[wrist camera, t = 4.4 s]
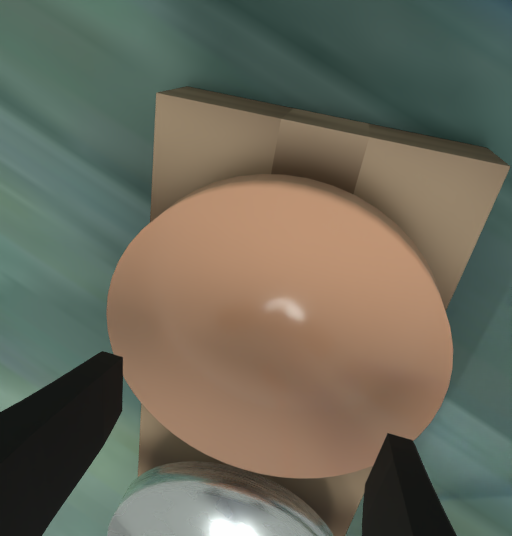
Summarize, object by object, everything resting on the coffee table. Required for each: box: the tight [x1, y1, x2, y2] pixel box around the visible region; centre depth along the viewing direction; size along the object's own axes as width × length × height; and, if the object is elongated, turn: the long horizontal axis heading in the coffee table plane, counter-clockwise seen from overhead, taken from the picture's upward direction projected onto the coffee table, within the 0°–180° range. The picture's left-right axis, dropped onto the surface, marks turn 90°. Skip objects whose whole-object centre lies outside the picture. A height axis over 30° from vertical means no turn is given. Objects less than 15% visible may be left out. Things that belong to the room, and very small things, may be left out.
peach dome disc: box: [107, 174, 453, 478], centre depth 16 cm, size 11×11×4 cm
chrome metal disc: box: [108, 461, 333, 536], centre depth 22 cm, size 11×11×4 cm
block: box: [138, 87, 510, 536], centre depth 22 cm, size 26×12×3 cm, turn 171°
